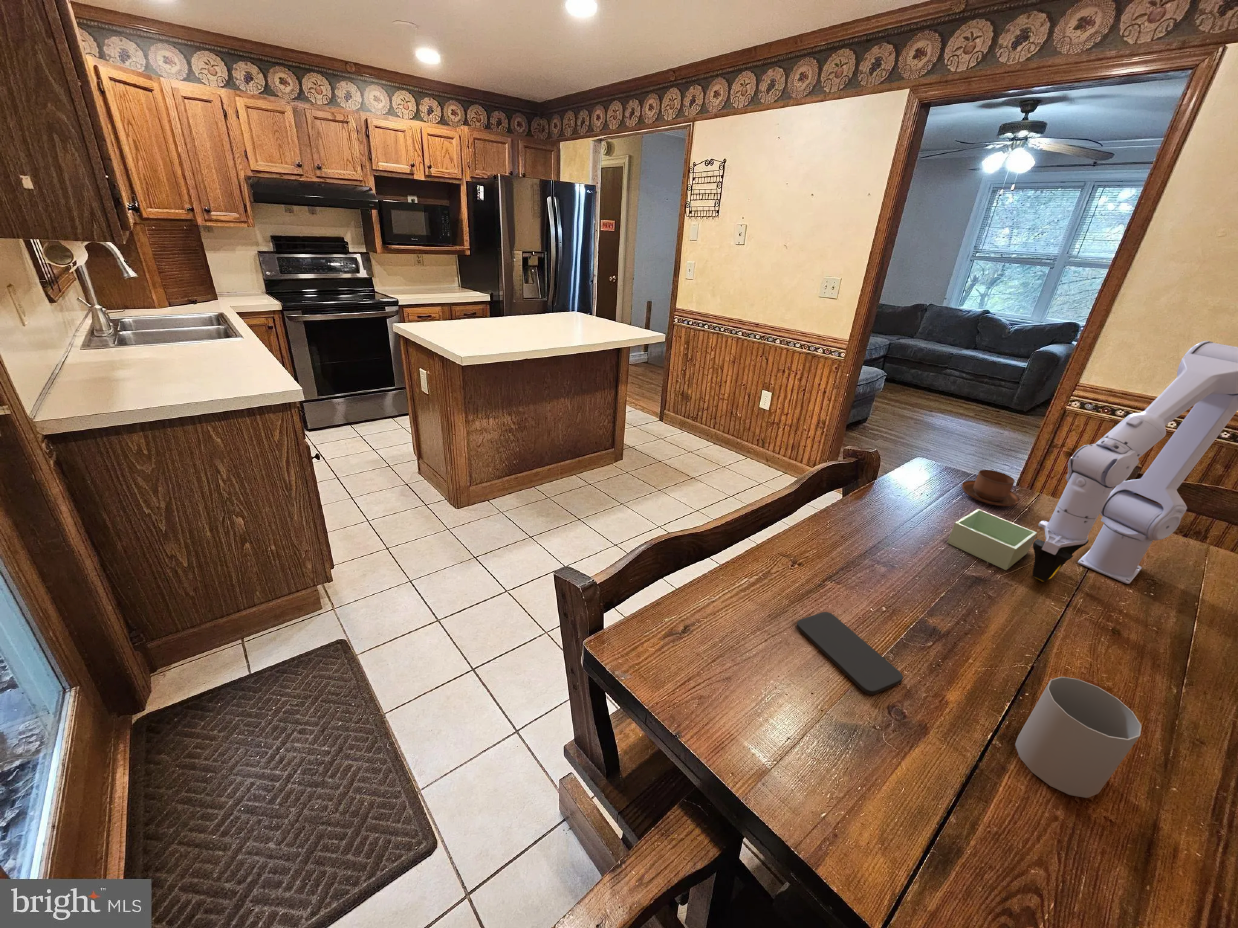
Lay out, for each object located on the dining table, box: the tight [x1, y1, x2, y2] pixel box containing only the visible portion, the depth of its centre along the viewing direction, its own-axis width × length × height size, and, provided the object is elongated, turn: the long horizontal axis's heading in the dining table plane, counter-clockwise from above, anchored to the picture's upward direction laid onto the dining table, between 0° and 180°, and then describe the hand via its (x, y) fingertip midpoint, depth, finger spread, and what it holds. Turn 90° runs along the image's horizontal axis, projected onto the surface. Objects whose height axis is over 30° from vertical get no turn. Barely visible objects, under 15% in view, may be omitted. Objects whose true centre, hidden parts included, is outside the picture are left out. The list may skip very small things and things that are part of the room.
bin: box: [946, 508, 1038, 571], centre depth 105 cm, size 11×11×5 cm
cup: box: [1014, 676, 1142, 799], centre depth 61 cm, size 8×8×10 cm
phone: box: [796, 611, 904, 695], centre depth 78 cm, size 7×1×15 cm
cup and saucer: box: [961, 469, 1021, 507], centre depth 125 cm, size 12×12×6 cm
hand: (1045, 572), depth 97 cm, fingers closed on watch, 6 cm apart
